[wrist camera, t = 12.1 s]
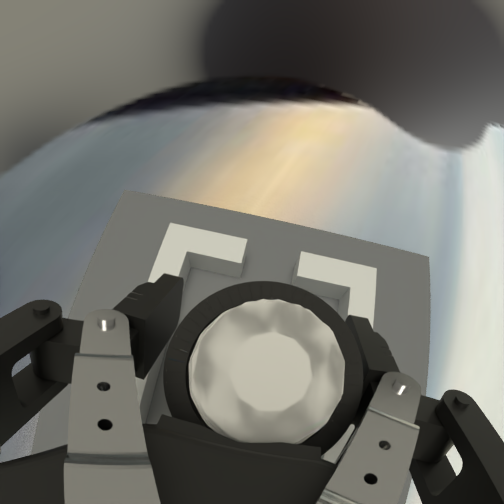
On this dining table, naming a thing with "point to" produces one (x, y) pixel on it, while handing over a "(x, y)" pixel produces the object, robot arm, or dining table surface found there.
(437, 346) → the dining table surface
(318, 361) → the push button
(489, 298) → the dining table surface
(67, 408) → the plate
